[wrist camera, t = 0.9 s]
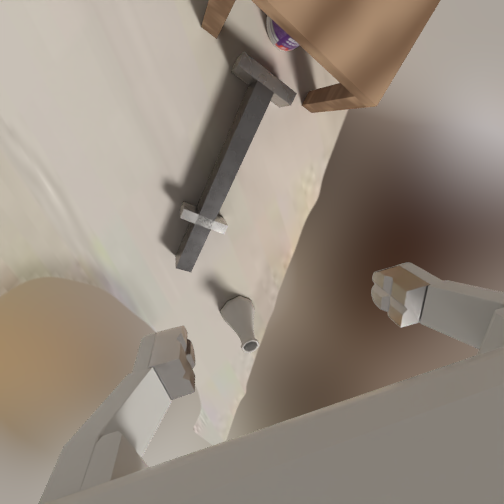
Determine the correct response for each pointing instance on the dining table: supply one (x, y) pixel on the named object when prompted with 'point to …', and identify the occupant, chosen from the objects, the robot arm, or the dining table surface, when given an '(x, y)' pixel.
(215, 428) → the dining table surface
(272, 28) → the pill bottle
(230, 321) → the flask
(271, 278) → the dining table surface
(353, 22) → the low table
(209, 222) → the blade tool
